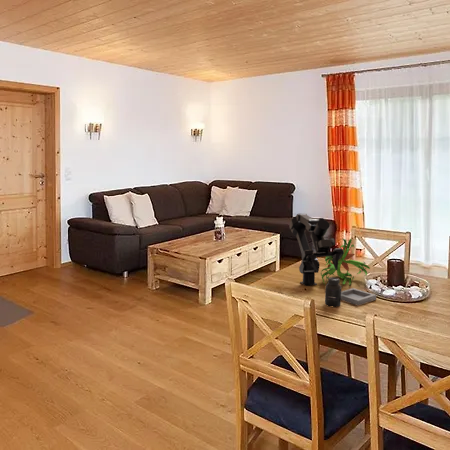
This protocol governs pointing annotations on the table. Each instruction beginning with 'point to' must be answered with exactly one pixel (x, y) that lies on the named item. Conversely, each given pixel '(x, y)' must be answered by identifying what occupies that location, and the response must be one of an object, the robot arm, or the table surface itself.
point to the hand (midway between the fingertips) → (327, 270)
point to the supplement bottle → (333, 292)
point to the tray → (357, 296)
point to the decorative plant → (344, 264)
